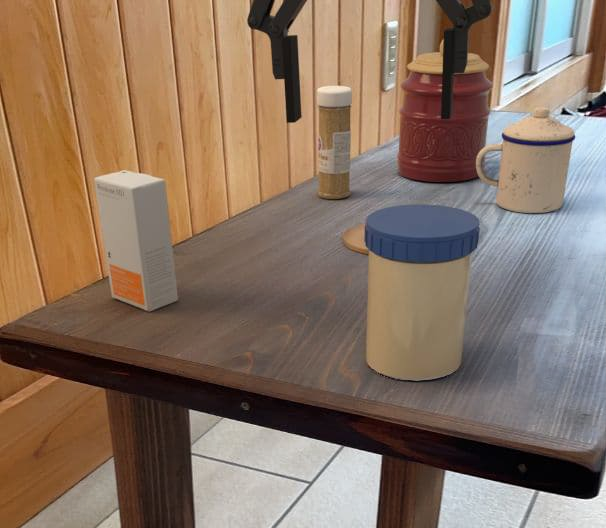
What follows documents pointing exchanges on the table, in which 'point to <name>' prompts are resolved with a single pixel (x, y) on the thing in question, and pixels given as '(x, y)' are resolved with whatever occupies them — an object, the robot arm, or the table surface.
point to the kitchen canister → (443, 121)
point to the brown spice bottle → (334, 141)
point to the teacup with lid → (532, 163)
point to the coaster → (356, 238)
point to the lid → (421, 233)
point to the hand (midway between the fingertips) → (369, 118)
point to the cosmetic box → (137, 238)
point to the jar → (416, 316)
